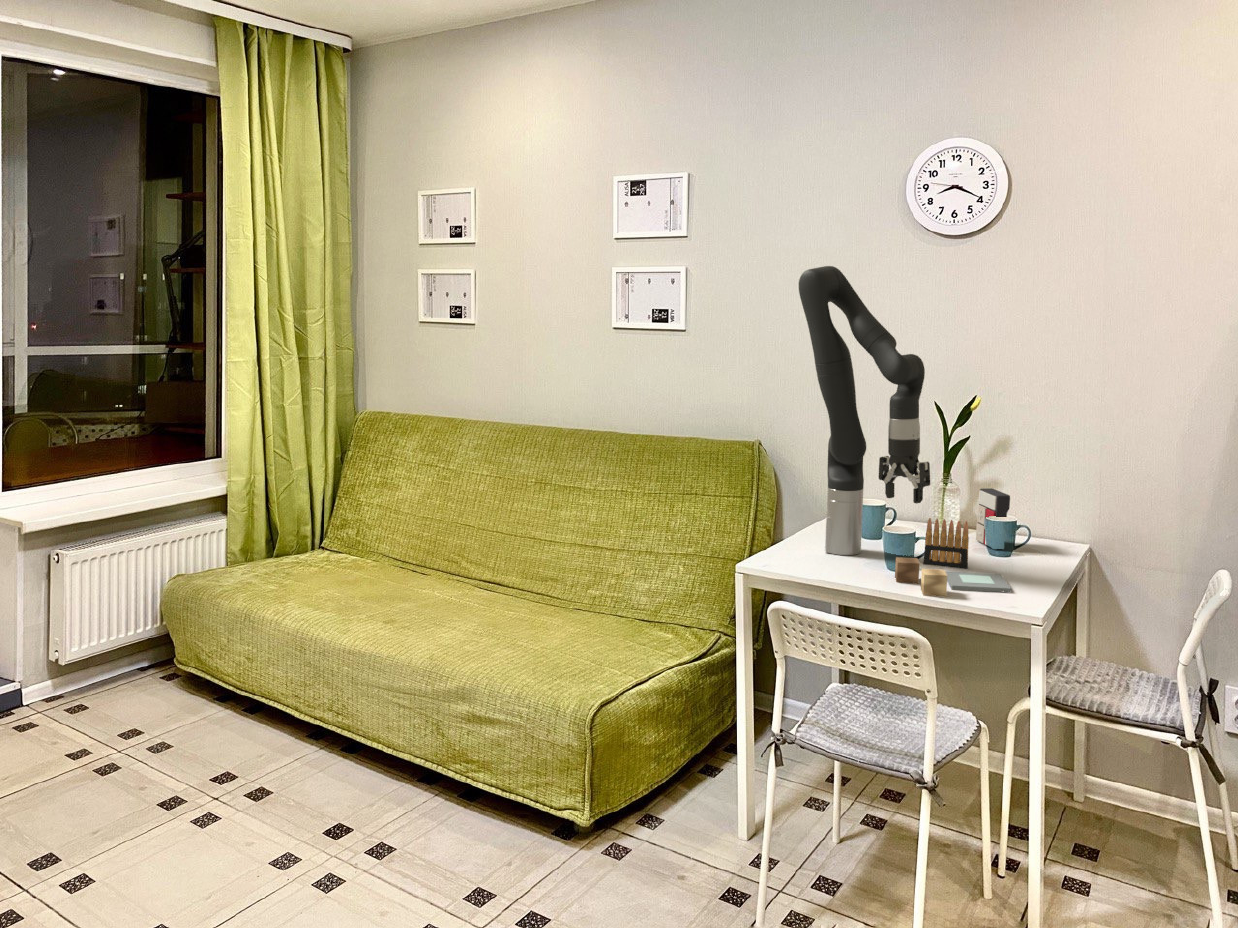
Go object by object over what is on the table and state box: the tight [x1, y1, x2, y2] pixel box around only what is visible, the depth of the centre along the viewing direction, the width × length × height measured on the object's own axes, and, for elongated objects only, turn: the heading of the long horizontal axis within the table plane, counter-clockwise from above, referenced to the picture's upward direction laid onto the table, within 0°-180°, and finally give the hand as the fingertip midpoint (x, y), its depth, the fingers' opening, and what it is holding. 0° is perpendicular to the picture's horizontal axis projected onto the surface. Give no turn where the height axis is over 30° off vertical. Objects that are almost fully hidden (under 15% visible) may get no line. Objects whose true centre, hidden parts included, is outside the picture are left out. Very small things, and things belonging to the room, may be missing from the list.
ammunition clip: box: [922, 517, 970, 570], centre depth 255 cm, size 11×2×12 cm, turn 65°
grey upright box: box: [975, 488, 1011, 546], centre depth 277 cm, size 11×4×15 cm, turn 5°
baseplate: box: [945, 570, 1012, 593], centre depth 240 cm, size 13×13×1 cm
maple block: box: [920, 568, 948, 598], centre depth 232 cm, size 5×5×5 cm
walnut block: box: [894, 556, 920, 585], centre depth 242 cm, size 5×5×5 cm
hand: (903, 500), depth 252 cm, fingers open, 8 cm apart
